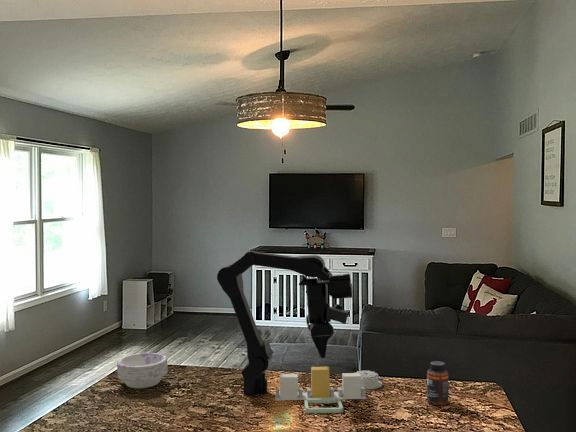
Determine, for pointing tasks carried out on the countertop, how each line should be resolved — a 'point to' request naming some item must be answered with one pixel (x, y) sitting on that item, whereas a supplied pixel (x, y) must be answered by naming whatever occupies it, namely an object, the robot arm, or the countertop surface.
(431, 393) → the supplement bottle
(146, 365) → the paper bowls
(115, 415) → the countertop surface
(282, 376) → the block
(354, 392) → the block
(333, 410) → the tray
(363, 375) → the mechanical component
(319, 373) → the block
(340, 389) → the block
